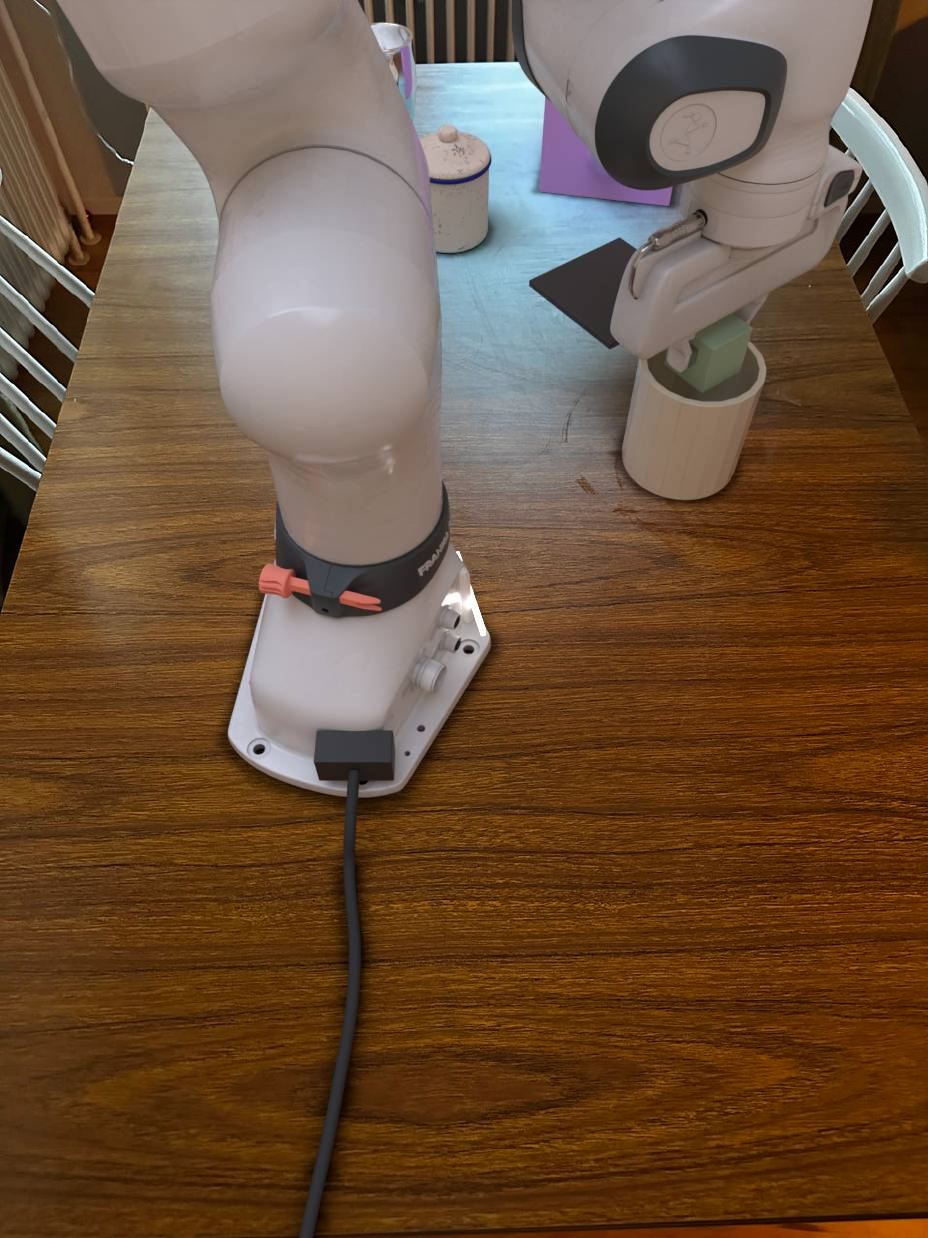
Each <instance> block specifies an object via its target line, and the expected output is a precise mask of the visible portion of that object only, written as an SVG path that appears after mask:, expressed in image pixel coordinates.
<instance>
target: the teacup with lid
mask: <svg viewBox="0 0 928 1238" xmlns="http://www.w3.org/2000/svg"><path fill="white" fill-rule="evenodd" d="M418 137H419V139H420V142H421V145H422V148H423V150H424V153H425V156H426V159H427V163H428V168H429V177H430V189H431V201H432V213H433V225H434V236H435V244H436V253H444V254H455V253H460V252H461V253H462V252H465V251H468V250H471V249H473V248H475V247H477V246H478V245H480V244H481V243H482V242H483V241H484V239H485V238H486V236H487V234H488V232H489V231H488V230H489V196H490V195H489V194H490V193H489V192H490V191H489V190H490V189H489V188H490V167H491V165H492V153H491V151H490V148H489V147H488V144H486V143H485V142H484V140H482V139H481V138H479V136H476V135H473V134H471V133H469V132H465V131H461V130H460V131H459V130H458V129H457V127H455V125H453V124H444V125H441V126H440V127H439V128H438V130H437V131H432V132H429V133H426V134H423V135H421V136H418Z"/></svg>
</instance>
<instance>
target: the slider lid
mask: <svg viewBox="0 0 928 1238" xmlns="http://www.w3.org/2000/svg"><path fill="white" fill-rule="evenodd" d="M637 249H638V248H636V247H635V246H634V245H632V244H630V243H629V242H627V241H626V240H625V239H623V238H622V237H617V238H615V239H613V240H611V241H609V242H606V243H605V244H602V245H599V246H598V247H596V248H594V249H592V250H590V251H588V252H586V253H584V254H581V255H580V256H577V257H575V258H573V259H571V260H569V261H567V262H565V263H562V264H561V265H558V266H556V267H555V268H552V269H550V270H549V271H545V272H544V273H542V274H539V275H537V276H535V277H533V278H531V279H529V281H528V287H529V288H531V289H532V290H533V291H535V292H536V293H537V294H538V295H540V296H541V297H542V298H544V299H545V300H546V301H547V302H548V303H550V304H551V305H552V306H553V307H555V308H556V309H557V310H559V311H560V312H561V313H562V314H564V315H565V316H566V317H567V318H569V319H570V320H571V321H572V322H574V323H575V324H576V325H578V326H579V327H580V328H582V329H583V331H585V332H587V333H588V334H589V335H590V336H591V337H592V338H594V339H595V340H596V341H598V342H599V343H601V344H602V346H603V345H604V347H605V348H607V349H608V350H612V349H614V348H616V347H618V346H621V344H620V343H618V342H617V341H616V340H615V338H614V337H613V336H612V334H611V331H610V325H611V319H612V315H613V310H614V306H615V302H616V298H617V294H618V291H619V287H620V284H621V280H622V277H623V274H624V271H625V269H626V266H627V264H628V262H629V260H630V258H631V257H632V255H633V254H634V253H635V251H636V250H637Z"/></svg>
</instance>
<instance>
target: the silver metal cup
mask: <svg viewBox="0 0 928 1238" xmlns="http://www.w3.org/2000/svg"><path fill="white" fill-rule="evenodd" d="M369 24H370V26H371V28H372V30H373V32H374V34H375V36H376V39H377V41H378V43H379V45H380V47H381V49H382V51H383V54H384V56H385V58H386V60H387V63H388V65H389V67H390V69H391V72H392V74H393V76H394V79H395V81H396V83H397V86H398V88H399V90H400V93H401V95H402V97H403V100H404V102H405V105H406V107H407V110H408V112H409V114H410V117H411V119H412V122H413V123H414V118H415V110H416V102H417V89H418V87H417V65H416V55H415V45H414V34H413V32H412V30H410V28H408V27H406V26H405V25H402V24H401V23H400V24H399V23H394V22H388V21H380V22H371V23H369Z"/></svg>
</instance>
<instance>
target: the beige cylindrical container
mask: <svg viewBox="0 0 928 1238" xmlns="http://www.w3.org/2000/svg"><path fill="white" fill-rule="evenodd" d="M667 350H668V348H667V349H665V350H663V351H661V352H660V353H658V354H656V355H654V356H653V357H651V358H649V359H645V360H644V359H640V358H638V361H637V366H636V367H637V369H636V372H635V373H636V374H635V378H634V384H633V389H632V394H631V399H630V405H629V410H628V415H627V420H626V426H625V429H624V430H625V432H624V436H623V441H622V446H621V459H622V464H623V466H624V468H625V469H624V470H625V471H626V472H627V474H628V475H629V476H630V478H631V479H632V480H633V481H634V482H635V483H636V484H637V485H639V486H640V487H641V488H643V489H644V490H646V491H648V492H650V493H652V494H654V495H656V496H660V497H662V498H666V499H671V500H677V501H693V500H700V499H704V498H708V497H710V496H713V495H714V494H717V493H718V492H720V491H721V490H722V489H724V488H725V487H726V486H727V485H728V483H729V482H730V481H731V479H732V477H733V475H734V474H735V472H736V468H737V465H738V463H739V459H740V456H741V453H742V450H743V447H744V444H745V441H746V439H747V435H748V432H749V430H750V427H751V424H752V420H753V418H754V415H755V411H756V407H757V406H758V403H759V400H760V396H761V393H762V390H763V388H764V385H765V381H766V376H767V371H768V370H767V365H766V362H765V359H764V356H763V355H762V353H761V352H760V350H759V349H758V348H757V347H756V345H755V344H754V343H753V342H751V341H750V340H749V343H748V346H747V350H746V353H745V356H744V360H743V363H742V366H741V370H740V372H738V373H736V374H735V375H733V376H731V377H729V378H728V379H726V380H724V381H723V382H721V383H719V384H717V385H716V386H714V387H712V388H710V389H709V390H707V391H705V392H704V393H701V392H700V391H698V390H697V389H696V388H694V387H693V386H692V385H690V384H689V383H688V382H687V381H685V380H684V379H683V378H681V377H680V376H679V375H677V374H676V373H675V372H673V371H672V370H671V369H670V368H668V367H667V366H666V365H665V359H666V354H667Z"/></svg>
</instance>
